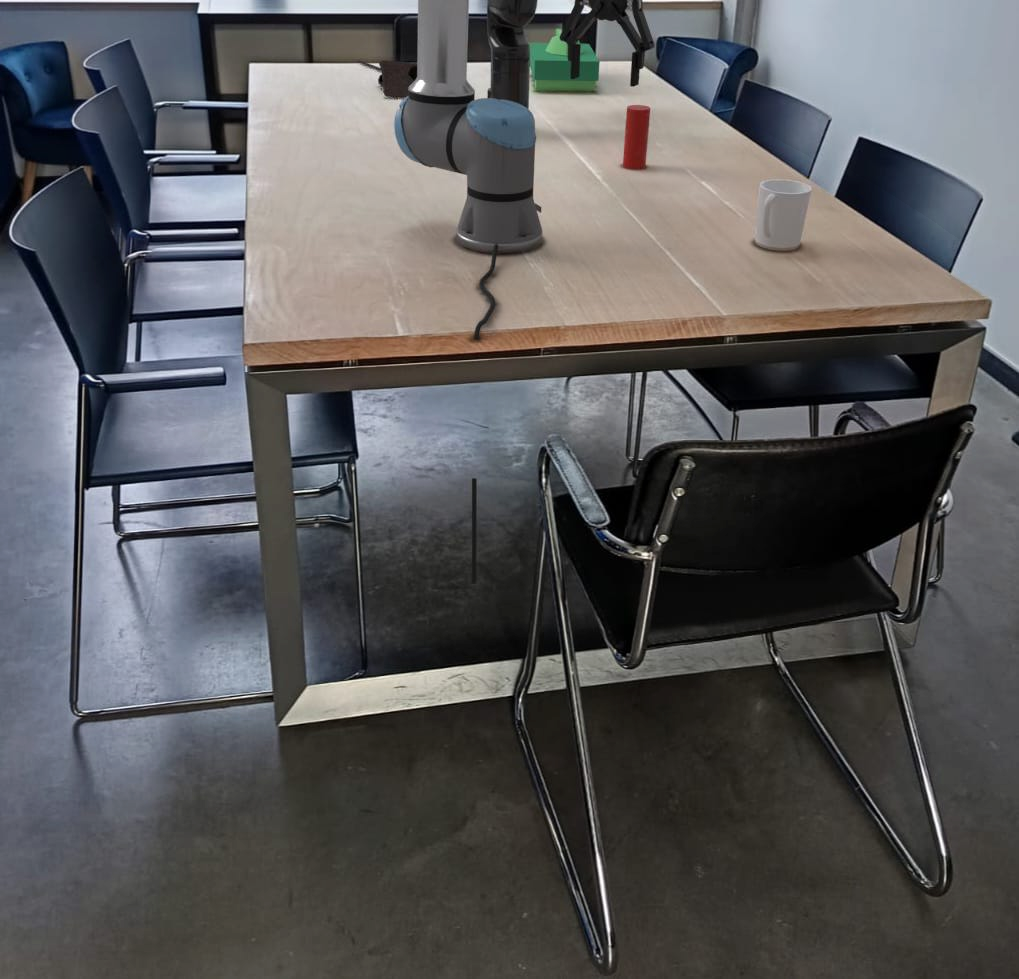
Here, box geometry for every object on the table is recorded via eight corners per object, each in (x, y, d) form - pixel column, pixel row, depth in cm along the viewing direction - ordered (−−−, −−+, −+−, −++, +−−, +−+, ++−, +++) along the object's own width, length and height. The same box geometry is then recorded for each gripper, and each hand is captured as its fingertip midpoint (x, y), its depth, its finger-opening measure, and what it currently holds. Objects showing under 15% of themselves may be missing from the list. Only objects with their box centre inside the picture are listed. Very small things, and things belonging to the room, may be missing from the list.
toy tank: (586, 25, 325) (600, 46, 295) (584, 69, 332) (597, 94, 302) (527, 24, 324) (535, 45, 294) (526, 68, 331) (533, 93, 301)
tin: (649, 168, 239) (654, 109, 232) (629, 170, 237) (633, 110, 230) (638, 162, 243) (643, 104, 236) (618, 164, 241) (622, 105, 234)
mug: (766, 232, 202) (774, 176, 197) (810, 242, 198) (820, 186, 192) (737, 246, 195) (744, 189, 190) (782, 258, 190) (791, 199, 185)
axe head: (443, 87, 294) (392, 77, 287) (436, 115, 299) (385, 106, 292) (421, 62, 307) (371, 52, 300) (414, 89, 311) (365, 80, 304)
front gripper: (676, -28, 214) (666, 85, 225) (562, -37, 224) (558, 71, 235) (661, -24, 208) (652, 92, 220) (545, -34, 218) (542, 78, 230)
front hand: (604, 81), depth 227 cm, fingers open, 13 cm apart
